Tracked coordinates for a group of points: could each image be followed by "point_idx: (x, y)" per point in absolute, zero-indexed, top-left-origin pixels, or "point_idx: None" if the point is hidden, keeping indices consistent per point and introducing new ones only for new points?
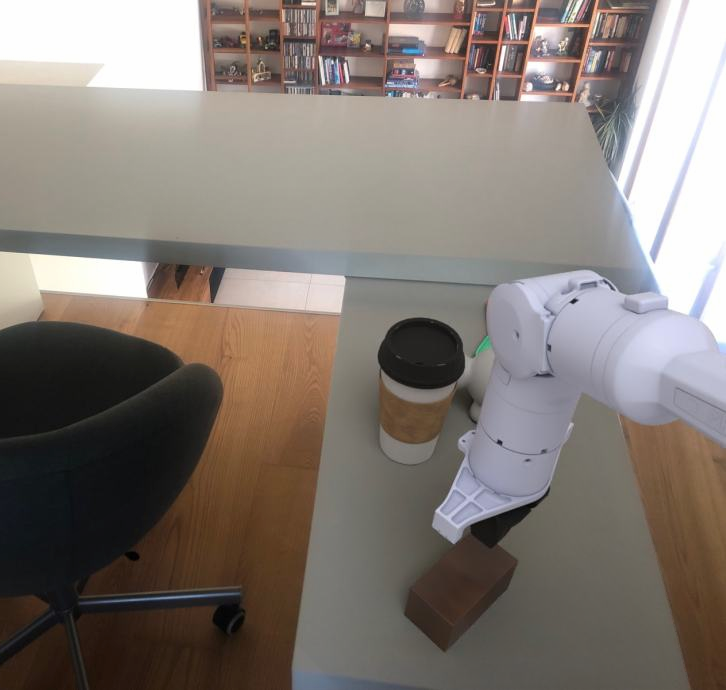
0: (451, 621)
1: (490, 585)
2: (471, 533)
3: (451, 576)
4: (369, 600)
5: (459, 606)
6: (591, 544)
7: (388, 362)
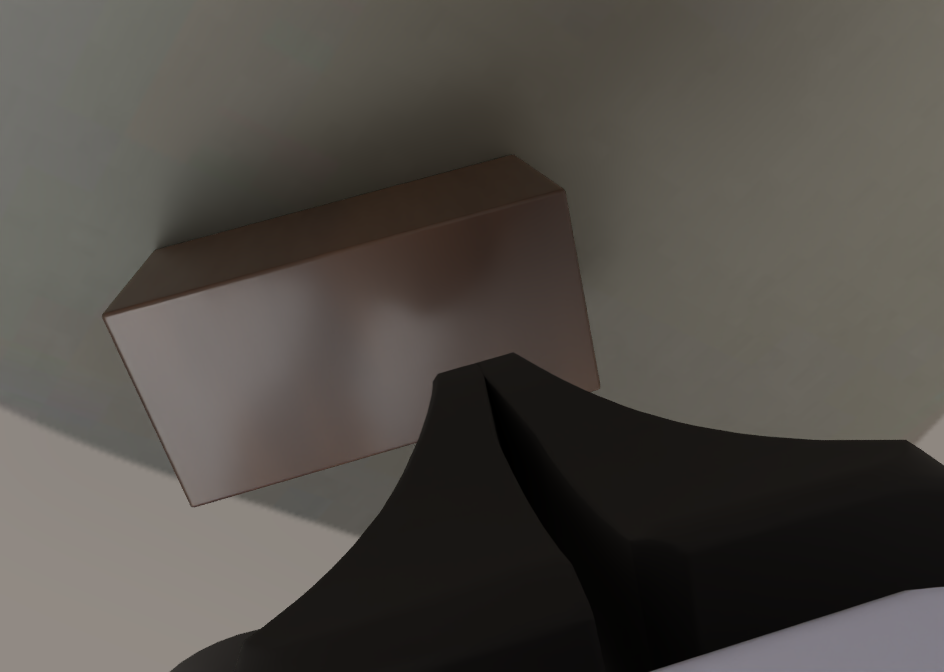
0: (197, 490)
1: None
2: (433, 381)
3: (308, 345)
4: (46, 141)
5: (261, 457)
6: (879, 305)
7: None
